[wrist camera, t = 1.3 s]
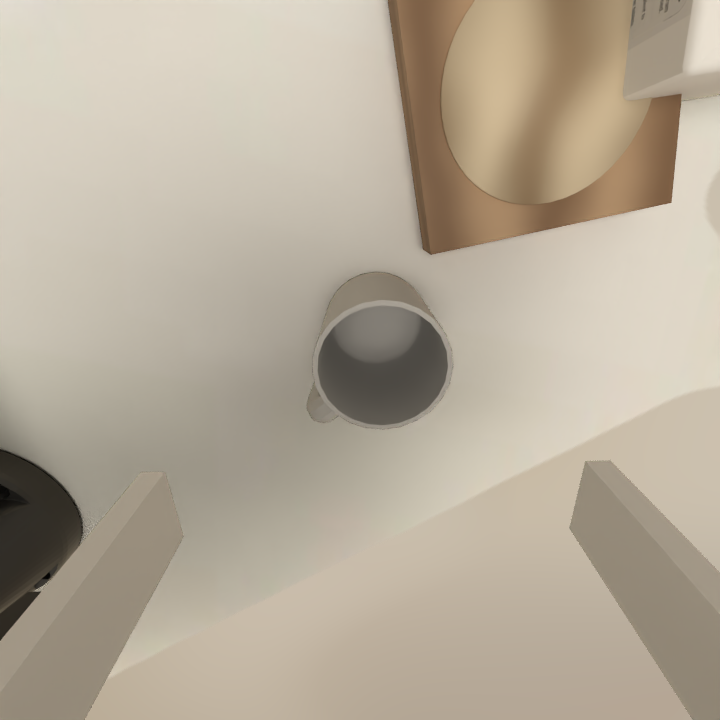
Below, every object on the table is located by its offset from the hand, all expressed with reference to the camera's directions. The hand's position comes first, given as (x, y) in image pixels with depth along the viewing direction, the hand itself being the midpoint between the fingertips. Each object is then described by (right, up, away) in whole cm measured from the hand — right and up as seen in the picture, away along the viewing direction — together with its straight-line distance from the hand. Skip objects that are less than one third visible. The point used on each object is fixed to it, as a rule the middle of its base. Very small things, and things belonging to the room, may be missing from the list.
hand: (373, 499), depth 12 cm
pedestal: (+9, +20, +10) cm, 24 cm away
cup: (0, +7, +16) cm, 17 cm away
